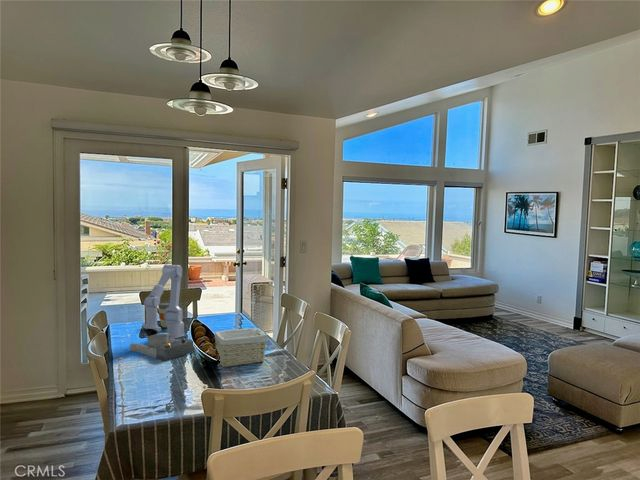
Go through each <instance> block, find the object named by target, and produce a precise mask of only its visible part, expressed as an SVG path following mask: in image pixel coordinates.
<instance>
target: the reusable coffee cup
mask: <svg viewBox="0 0 640 480" xmlns="http://www.w3.org/2000/svg"><path fill="white" fill-rule="evenodd" d="M169 305H170V300H169V301H162V302H161V301H160V303H159V305H158V306H157V309H158V317H159V320H160V327H161V326H162V327H161V328H167V323H166V321H165V319H164V314H165V310H166V308H168V307H169Z"/></svg>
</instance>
